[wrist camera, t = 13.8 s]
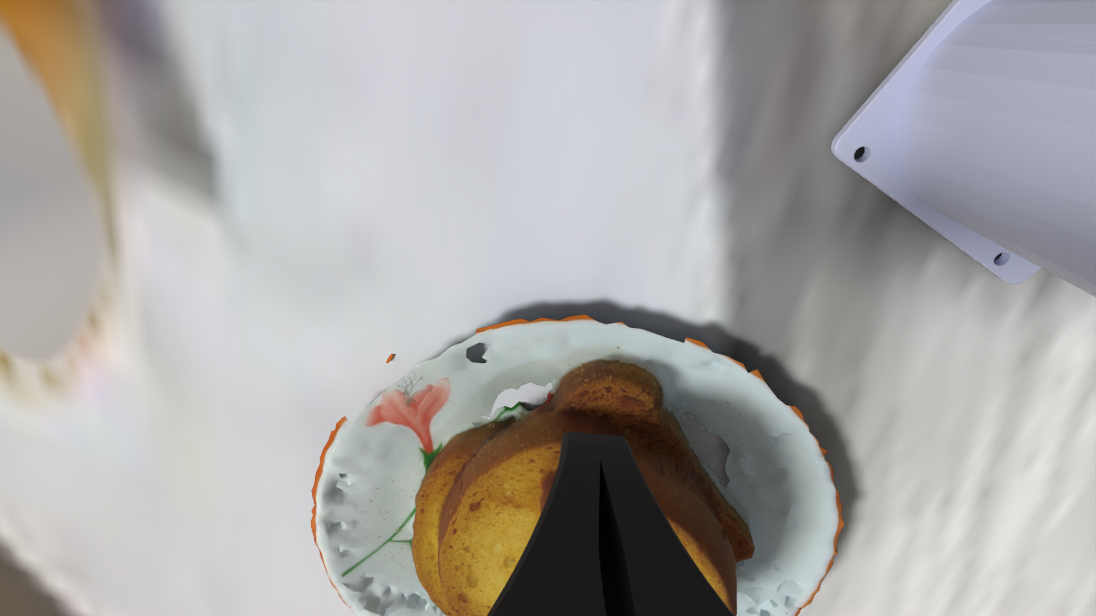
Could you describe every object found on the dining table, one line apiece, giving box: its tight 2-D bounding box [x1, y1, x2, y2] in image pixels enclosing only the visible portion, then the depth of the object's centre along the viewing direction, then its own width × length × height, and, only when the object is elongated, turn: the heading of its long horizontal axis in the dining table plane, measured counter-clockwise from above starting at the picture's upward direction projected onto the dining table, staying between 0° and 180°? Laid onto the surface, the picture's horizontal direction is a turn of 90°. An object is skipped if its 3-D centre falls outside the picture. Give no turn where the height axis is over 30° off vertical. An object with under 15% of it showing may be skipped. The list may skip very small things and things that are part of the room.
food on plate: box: [311, 314, 844, 616], centre depth 25 cm, size 25×25×7 cm
